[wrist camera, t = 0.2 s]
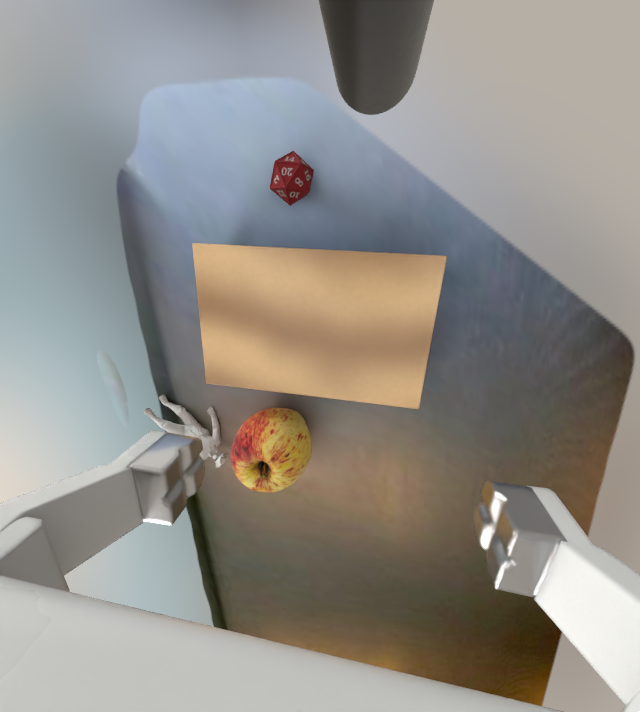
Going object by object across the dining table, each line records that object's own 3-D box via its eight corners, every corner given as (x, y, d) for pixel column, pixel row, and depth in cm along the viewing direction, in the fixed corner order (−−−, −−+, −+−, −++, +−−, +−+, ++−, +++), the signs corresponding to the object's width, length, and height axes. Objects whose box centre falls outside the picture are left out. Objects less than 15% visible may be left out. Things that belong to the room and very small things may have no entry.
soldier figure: (178, 377, 41) (240, 432, 38) (191, 390, 45) (247, 440, 42) (130, 420, 38) (191, 484, 35) (148, 429, 42) (204, 487, 39)
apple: (265, 381, 38) (230, 424, 28) (329, 410, 38) (316, 463, 28) (245, 434, 41) (208, 488, 32) (304, 461, 41) (284, 523, 32)
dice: (317, 158, 28) (309, 145, 25) (313, 210, 30) (304, 204, 26) (279, 155, 29) (266, 142, 25) (277, 206, 30) (264, 200, 27)
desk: (225, 244, 33) (192, 243, 27) (432, 254, 30) (447, 256, 24) (232, 361, 38) (206, 383, 32) (410, 381, 34) (418, 409, 28)
